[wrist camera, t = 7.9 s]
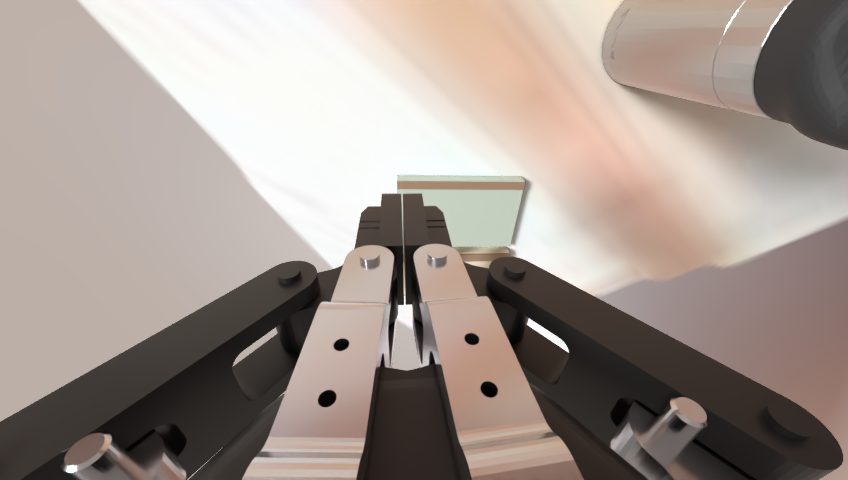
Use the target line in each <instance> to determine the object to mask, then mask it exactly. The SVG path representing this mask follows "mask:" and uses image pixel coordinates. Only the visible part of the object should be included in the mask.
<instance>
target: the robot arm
mask: <svg viewBox="0 0 848 480" xmlns="http://www.w3.org/2000/svg"><path fill="white" fill-rule="evenodd" d="M602 59H603V64H604V67H605V69H606V72H607V73H608V75H609V76H610V77H611V78H612V79H613V80H615V81H616V82H618V83H620V84H623V85H627V86H631V87H636V88H640V89H644V90H648V91H652V92H656V93H661V94H665V95H669V96H673V97H678V98H682V99H686V100H691V101H695V102H699V103H704V104H708V105H712V106H717V107H721V108H725V109H729V110H734V111H739V112H743V113H748V114H752V115H756V116H761V117H765V118H769V119H774V120H778V121H782V122H786V123H790V124H791V125H793V127H794V128H795V129H797V130H798V131H799V132H800V133H802V134H804V135H805V136H807V137H809V138H811V139H814V140H816V141H819V142H822V143H825V144H828V145H831V146H835V147H838V148H841V149H845V150H848V0H625V1H624V2H623V3H622V4H621V5H620V7H619V8H618V9H617V11H616V12H615V13H614V15H613V17H612V19H611V21H610V22H609V24H608V27H607V30H606V32H605V35H604V40H603V45H602ZM403 245H404V270H405V296H406V304H412V306H413V329H414V336H415V342H416V348H417V354H418V360H419V366H420V368H417V369H414V370H409V371H405V370H399V369H393V368H392V364H393V353H394V341H395V332H396V318H397V315H398V305H404V277H403ZM528 318H530V319H531V320H533V321H535V322H536V323H538V324H539V325H541V326H542V327H544V328H545V329H547V330H548V331H550V332H551V333H553V334H555V335H556V336H558V337H559V338H560V339H562V340H563V341H564V342H565V344H566V345H567V347H568V349H569V353H568V352H566V351H565V350H563V349H562V348H560V347H559V346H557V345H556V344H554V343H553V342H551V341H550V340H548V339H547V338H545V337H544V336H542V335H541V334H539V333H538V332H536V331H535V330H533V329H532V328H530V327H529V326H527V322H528ZM275 327H276V329H277V332H278V334H277V335H275V336H274V337H273V338H271V339H270V340H268V341H267V342H266V343H264V344H263V345H262V346H260V347H259V348H258V349H256V350H255V351H254V352H252V353H251V354H249V355H248V356H247V357H245V358H244V359H243V360H241V361H240V362H239V363H237V364H236V365H235V366H233V367H232V365H233V362H234V361H235V359H236V357H237V356H238V355H239V354H240V353H241V352H242V351H243V350H244V349H246V348H247V347H249V346H250V345H252V344H253V343H254V342H255V341H257V340H259V339H260V338H261V337H263V336H264V335H265V334H267V333H268V332H270V331H271V330H272V329H274V328H275ZM284 391H286V392H285V394H283V395H282V396H280V395H281V394H282V393H283V392H284ZM279 396H280V397H279ZM222 447H223V448H222ZM221 448H222V449H221ZM220 449H221V450H220ZM219 450H220V451H219ZM218 451H219V452H218ZM217 452H218V453H217ZM216 453H217V454H216ZM214 455H215V456H214ZM212 456H213V457H212ZM211 457H212V458H211ZM210 458H211V459H210ZM209 459H210V460H209ZM208 460H209V461H208ZM207 461H208V462H207ZM206 462H207V463H206ZM842 462H843V453H842V450H841V448H840V445H839V444H838V442H837V440H836V439H835V438H834V436H833V435H832V434H831V432H830V431H829V430H828V429H827V428H826V427H825V426H824V425H823V424H822V423H821V422H820V421H819V420H818V419H817V418H815V417H814V416H813V415H812V414H810V413H809V412H808V411H806V410H805V409H804V408H802V407H801V406H799V405H798V404H796V403H795V402H793V401H791V400H789V399H787V398H785V397H784V396H782V395H780V394H778V393H776V392H774V391H772V390H770V389H769V388H767V387H765V386H763V385H761V384H759V383H757V382H755V381H753V380H751V379H750V378H748V377H745V376H744V375H742V374H740V373H738V372H736V371H734V370H732V369H731V368H729V367H727V366H725V365H723V364H721V363H719V362H717V361H715V360H714V359H712V358H710V357H708V356H706V355H704V354H702V353H700V352H698V351H697V350H694V349H693V348H691V347H689V346H687V345H685V344H683V343H681V342H679V341H678V340H675V339H674V338H672V337H670V336H668V335H666V334H664V333H662V332H660V331H659V330H657V329H655V328H653V327H651V326H649V325H647V324H645V323H643V322H642V321H640V320H638V319H636V318H634V317H632V316H630V315H628V314H626V313H624V312H622V311H621V310H618V309H617V308H615V307H613V306H611V305H609V304H607V303H606V302H604V301H602V300H600V299H598V298H596V297H594V296H592V295H590V294H588V293H587V292H585V291H583V290H581V289H579V288H577V287H575V286H573V285H571V284H569V283H568V282H566V281H564V280H562V279H560V278H558V277H556V276H554V275H552V274H551V273H549V272H547V271H545V270H543V269H541V268H539V267H537V266H535V265H533V264H532V263H530V262H528V261H526V260H523V259H520V258H516V257H500V258H497V259H495V260H493V261H492V262H491V264H490V266H489V268H484V267H479V266H474V265H471V264H468V263H466V262H464V261H462V258H461V256H460V254H459V253H458V252H457V251H456V250H455V249H454V248H452V244H451V240H450V236H449V233H448V229H447V225H446V221H445V218H444V214H443V212H442V211H441V210H440V209H439V208H438V207H437V206H424V203H423V197H422V193H407V194H403V228H402V201H401V194H382V200H381V206H380V207H367V208H366V209H365V210H364V211H363V212H362V213H361V217H360V223H359V229H358V233H357V239H356V244H355V249H354V250H352V251H351V252H350V253H349V254H348V255H347V256H346V259H345V261H344V264H343V265H342V266H340V267H338V268H335V269H332V270H328V271H324V272H320V273H317V270H316V268H315V267H314V266H313V265H312V264H310V263H307V262H304V261H291V262H286V263H282V264H279V265H277V266H275V267H273V268H271V269H269V270H268V271H266V272H264V273H263V274H261V275H259V276H257V277H255V278H254V279H252V280H250V281H248V282H247V283H245V284H243V285H241V286H239V287H238V288H236V289H234V290H232V291H231V292H229V293H227V294H225V295H224V296H222V297H220V298H218V299H216V300H215V301H213V302H211V303H210V304H208V305H206V306H204V307H202V308H201V309H199V310H197V311H195V312H194V313H192V314H190V315H188V316H186V317H185V318H183V319H181V320H179V321H178V322H176V323H174V324H172V325H171V326H169V327H167V328H165V329H164V330H162V331H160V332H158V333H156V334H155V335H153V336H151V337H150V338H148V339H146V340H144V341H142V342H141V343H139V344H137V345H135V346H134V347H132V348H130V349H128V350H126V351H125V352H123V353H121V354H119V355H118V356H116V357H114V358H112V359H111V360H109V361H107V362H105V363H103V364H102V365H100V366H98V367H97V368H95V369H93V370H91V371H89V372H88V373H86V374H84V375H83V376H80V377H79V378H77V379H75V380H74V381H72V382H70V383H68V384H66V385H65V386H63V387H61V388H59V389H58V390H56V391H54V392H52V393H51V394H49V395H47V396H45V397H43V398H42V399H40V400H38V401H36V402H35V403H33V404H31V405H29V406H28V407H26V408H24V409H22V410H21V411H19V412H17V413H15V414H13V415H12V416H10V417H8V418H6V419H5V420H3V421H1V422H0V480H187V479H188V478H189V477H190V476H191V475H192V474H193V473H195V472H196V471H197V470H198V469H199V468H200V467H201V466H202V465H204V464H205V463H206V464H205V465H204V466H203V467H202V468H201V469H200V470H199V471H197V472H196V473H195V474H194V475H193V476H192V477H191V478H190V479H189V480H819V479H820V478H822V477H824V476H825V475H827V474H829V473H830V472H832V471H834V470H835V469H837V468H838V467H839V466H840V465H842Z"/></svg>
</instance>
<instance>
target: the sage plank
mask: <svg viewBox="0 0 848 480" xmlns="http://www.w3.org/2000/svg"><path fill="white" fill-rule="evenodd" d="M524 187H525V180H524V179H523V178H522V177H516V176H414V175H397V194H401V201H402V228H403V194H407V193H422V197H423V203H424V206H437V207H438V208H439V209H440V210H441V211H442V212H443V214H444V218H445V221H446V225H447V229H448V233H449V236H450V240H451V244H452V247H474V246H510V245H511V240H512V236H513V232H514V227H515V223H516V219H517V214H518V210H519V206H520V202H521V197H522V193H523V190H524ZM403 247H404V245H403Z"/></svg>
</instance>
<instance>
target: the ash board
mask: <svg viewBox="0 0 848 480" xmlns="http://www.w3.org/2000/svg"><path fill="white" fill-rule="evenodd" d="M452 248H454V249H455V250H456V251H457V252H458V253H459V254H460V256H461V258H462V261H464V262H466V263H468V264H471V265H474V266H479V267H484V268H489V266H490V264H491V262H492V261H493V260H495V259H497V258H500V257H509V256H510V254H509V251H508V249H507V247H452ZM403 277H404V295H405V270H404V248H403Z"/></svg>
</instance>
